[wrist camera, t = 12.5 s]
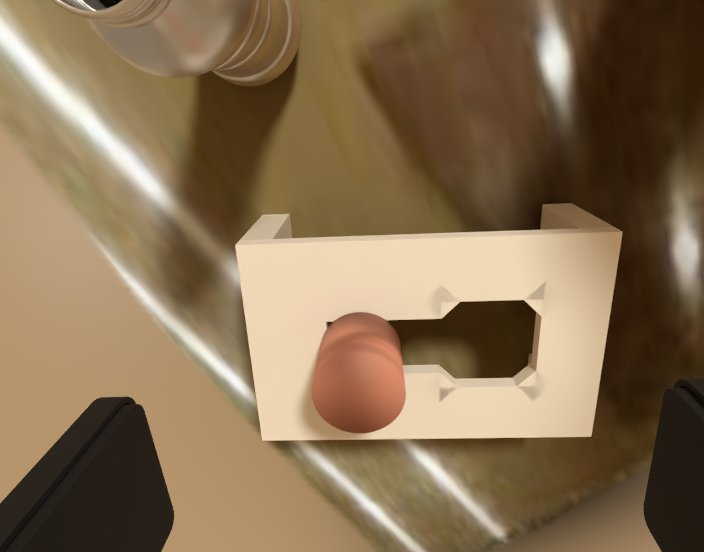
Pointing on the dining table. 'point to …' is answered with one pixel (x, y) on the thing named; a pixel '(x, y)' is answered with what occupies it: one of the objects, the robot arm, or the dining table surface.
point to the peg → (359, 374)
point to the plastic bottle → (198, 35)
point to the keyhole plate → (434, 303)
